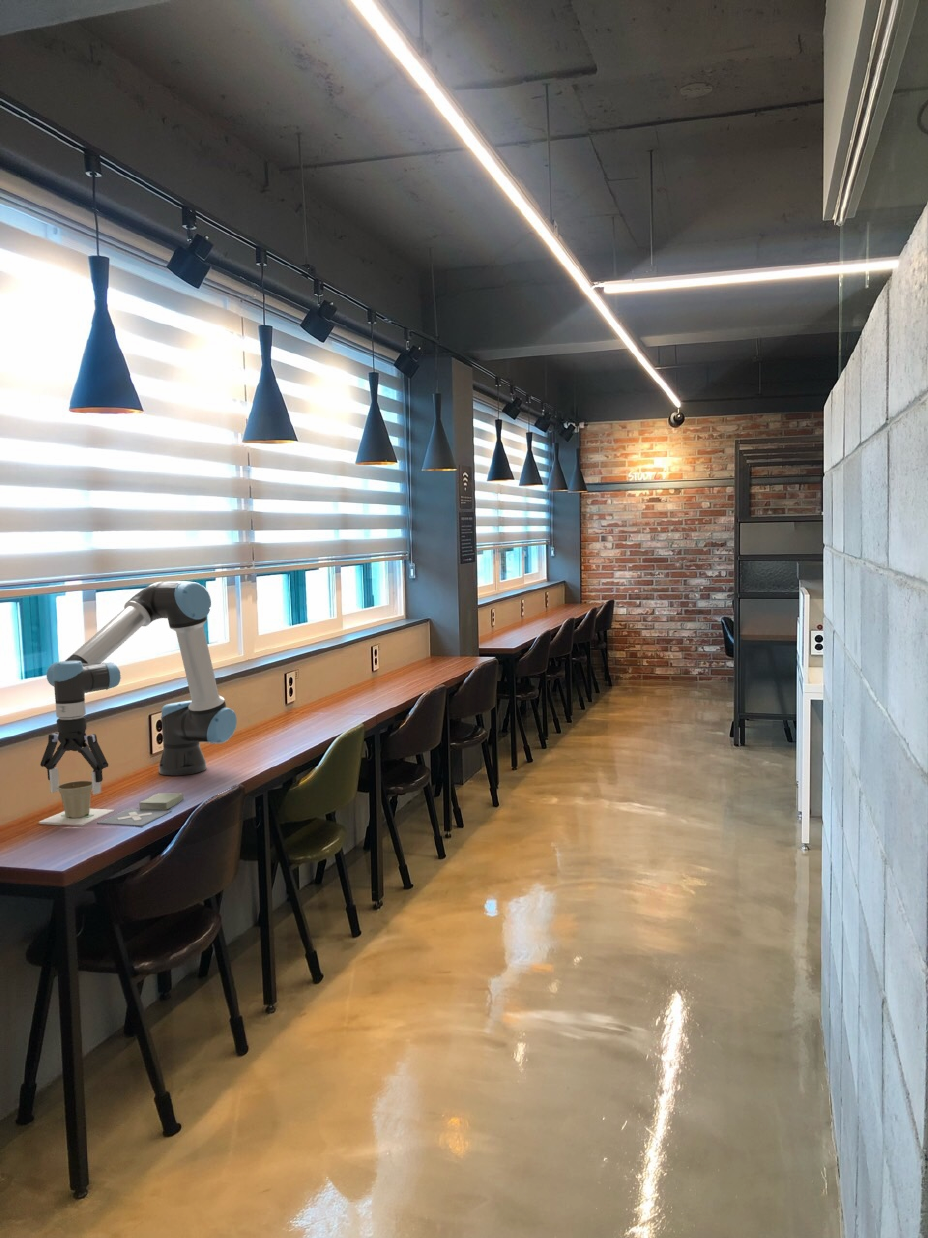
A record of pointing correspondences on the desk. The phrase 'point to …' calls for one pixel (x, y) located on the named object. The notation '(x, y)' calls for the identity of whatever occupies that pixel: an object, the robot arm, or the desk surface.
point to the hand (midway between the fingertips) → (75, 792)
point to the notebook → (161, 801)
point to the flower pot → (76, 798)
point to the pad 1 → (62, 819)
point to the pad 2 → (134, 817)
